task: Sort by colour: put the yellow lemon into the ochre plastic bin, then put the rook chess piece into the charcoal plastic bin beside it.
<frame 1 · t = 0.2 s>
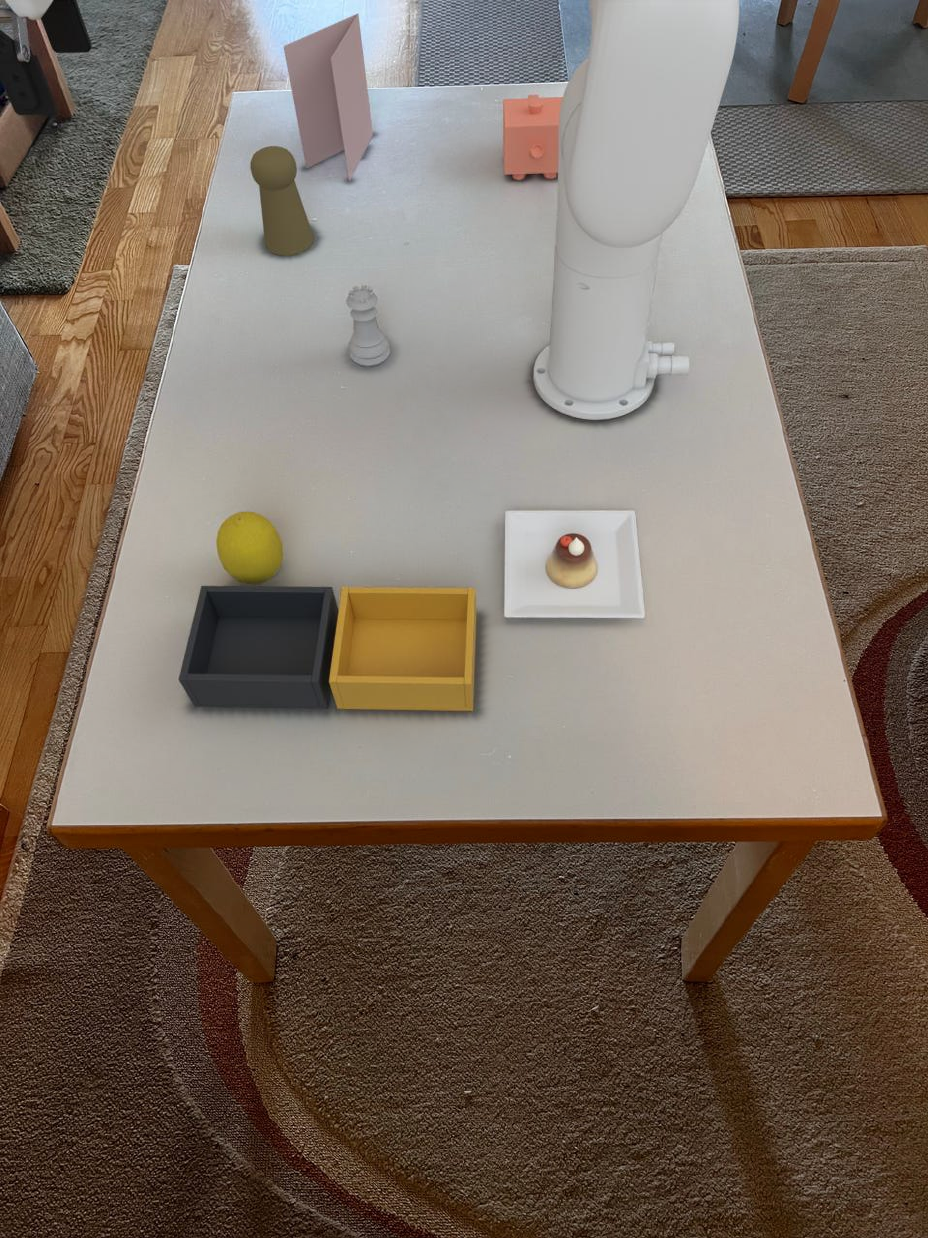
hand: (56, 80, 72), 31 cm above the table, tool pointing down, fingers open, 9 cm apart
dessert: (571, 570, 82), on the table
charcoal bin: (269, 660, 78), on the table
greeting card: (353, 160, 121), on the table
ochre bin: (409, 662, 77), on the table
lemon: (260, 577, 83), on the table
pawn chess piece: (289, 242, 112), on the table
rook chess piece: (370, 356, 99), on the table
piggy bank: (533, 170, 118), on the table
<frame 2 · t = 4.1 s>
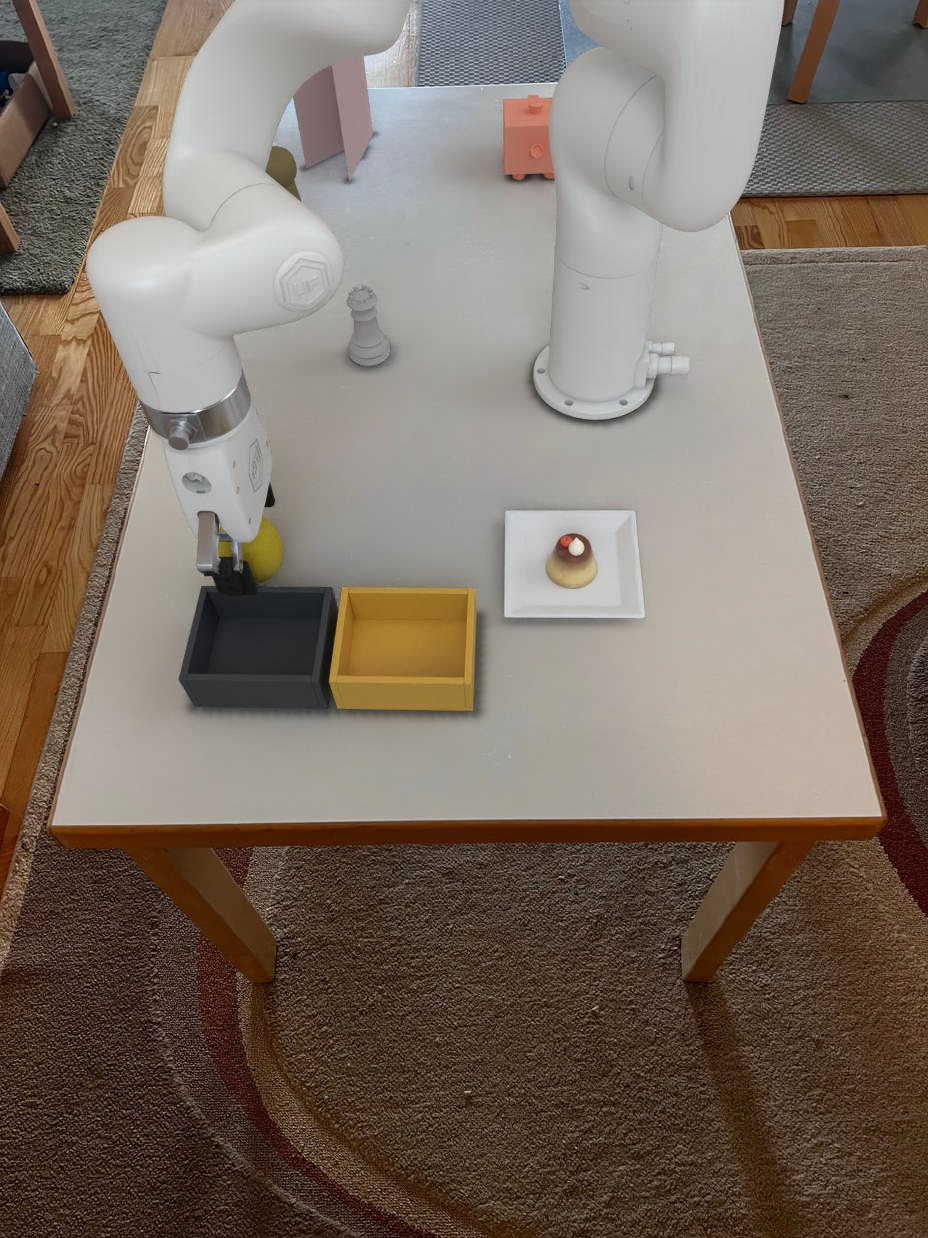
hand: (248, 546, 79), 4 cm above the table, tool pointing down, fingers open, 9 cm apart
nothing on the table moved.
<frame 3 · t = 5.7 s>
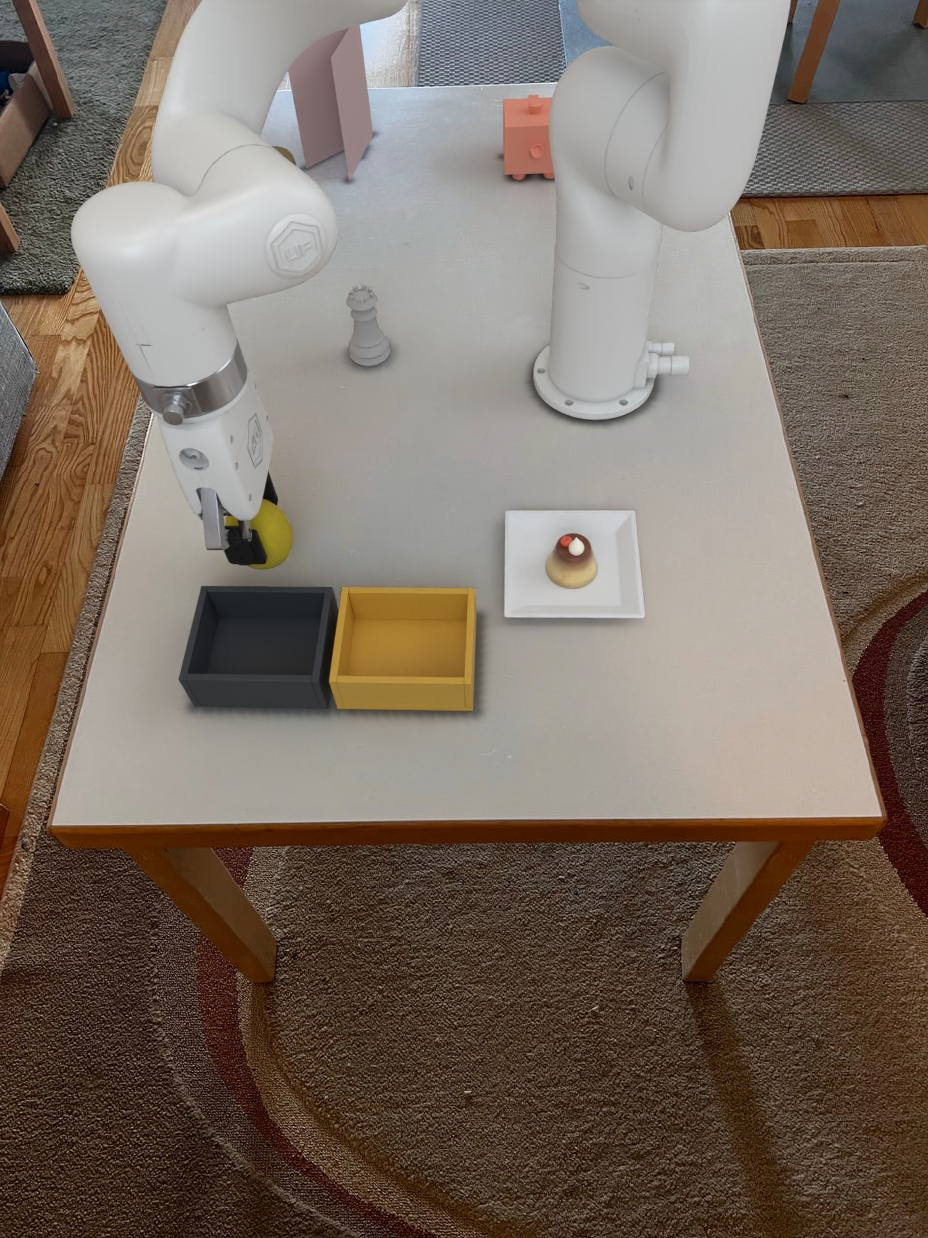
hand: (254, 530, 78), 6 cm above the table, tool pointing down, fingers closed on lemon, 5 cm apart
lemon: (273, 560, 82), point 1 cm above the table, touching gripper
everything else where it was.
when the fingers open (4 cm above the table, at t = 26.8 s): lemon stays where it is, resting on ochre bin.
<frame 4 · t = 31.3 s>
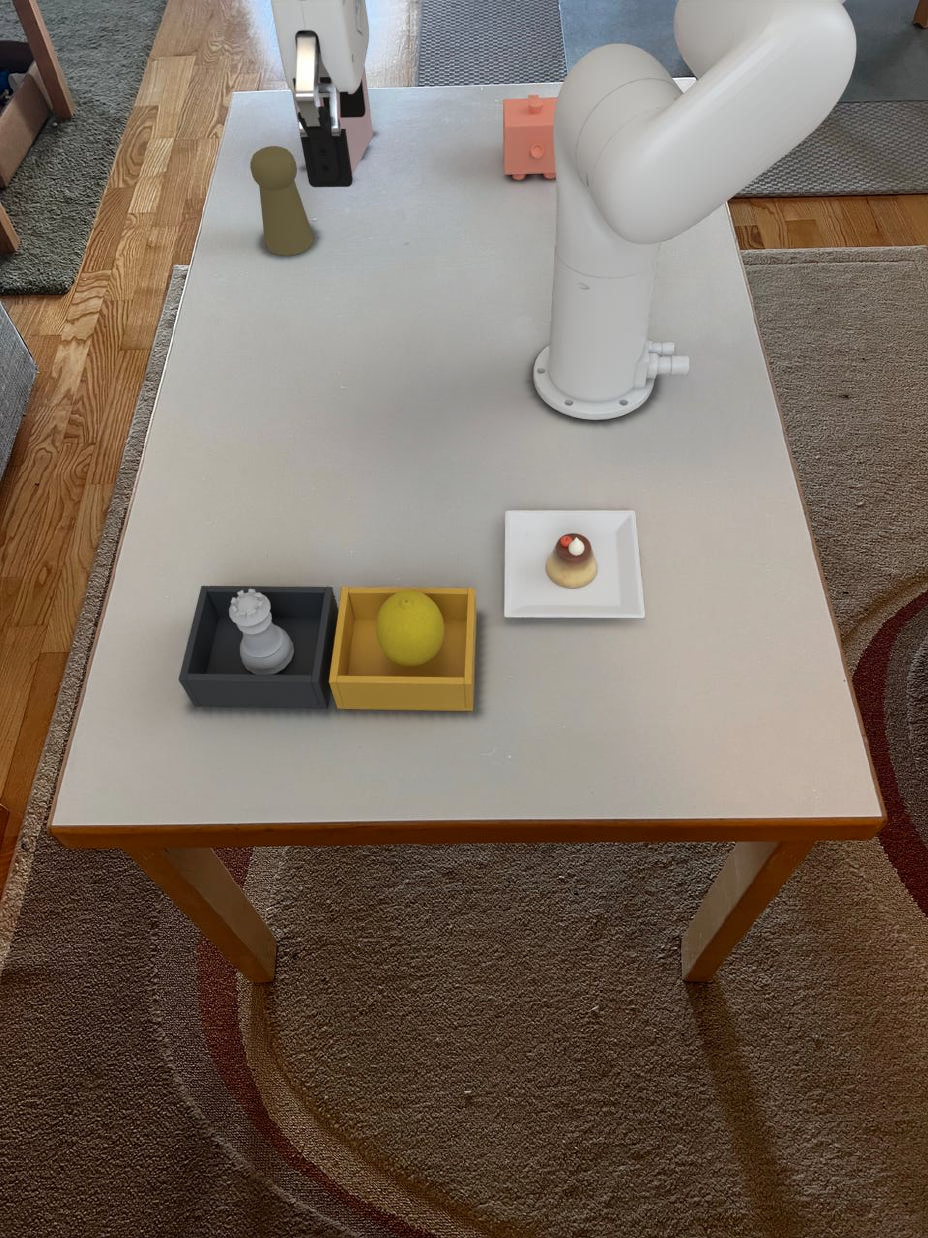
hand: (339, 148, 70), 28 cm above the table, tool pointing down, fingers open, 9 cm apart
lemon: (414, 656, 77), resting on ochre bin
rook chess piece: (269, 656, 78), resting on charcoal bin
everything else where it was.
at the end: lemon inside the target area in the ochre bin (0.6 cm from its centre), point 0.3 cm above the ochre bin's base; rook chess piece inside the target area in the charcoal bin (0.2 cm from its centre), point 0.3 cm above the charcoal bin's base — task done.
